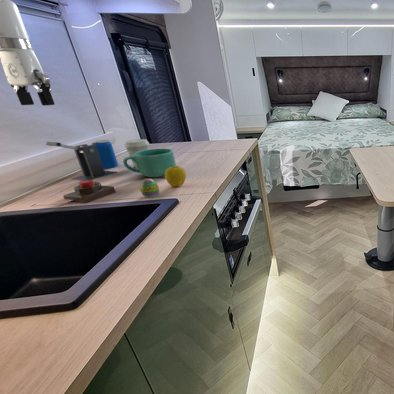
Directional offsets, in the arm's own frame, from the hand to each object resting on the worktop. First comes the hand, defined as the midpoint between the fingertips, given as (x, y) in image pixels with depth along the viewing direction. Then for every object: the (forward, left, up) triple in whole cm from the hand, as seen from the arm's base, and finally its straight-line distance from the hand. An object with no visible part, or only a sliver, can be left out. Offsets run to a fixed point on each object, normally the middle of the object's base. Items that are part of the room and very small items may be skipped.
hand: (38, 104), depth 95 cm
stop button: (-7, -20, -24) cm, 32 cm away
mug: (+16, -21, -28) cm, 39 cm away
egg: (-2, -39, -28) cm, 48 cm away
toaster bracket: (+9, 0, -28) cm, 29 cm away
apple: (+8, -40, -28) cm, 50 cm away
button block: (-7, -20, -28) cm, 35 cm away
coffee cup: (+24, -7, -28) cm, 38 cm away
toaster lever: (+4, 0, -16) cm, 17 cm away
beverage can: (+20, +7, -28) cm, 35 cm away
